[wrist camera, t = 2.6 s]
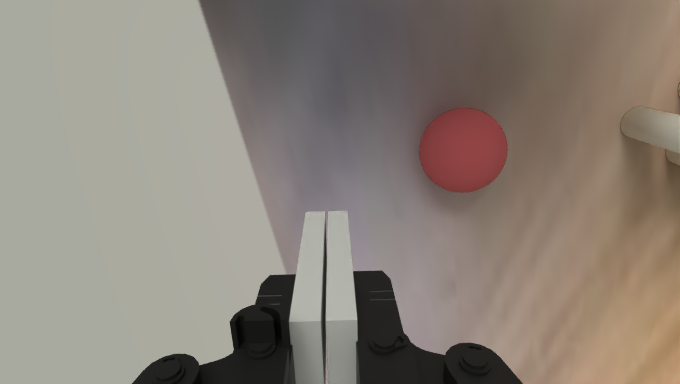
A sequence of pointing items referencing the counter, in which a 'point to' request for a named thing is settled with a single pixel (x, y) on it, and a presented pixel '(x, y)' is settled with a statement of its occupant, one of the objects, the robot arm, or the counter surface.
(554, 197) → the counter surface
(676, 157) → the pin
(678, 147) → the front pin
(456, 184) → the ball
